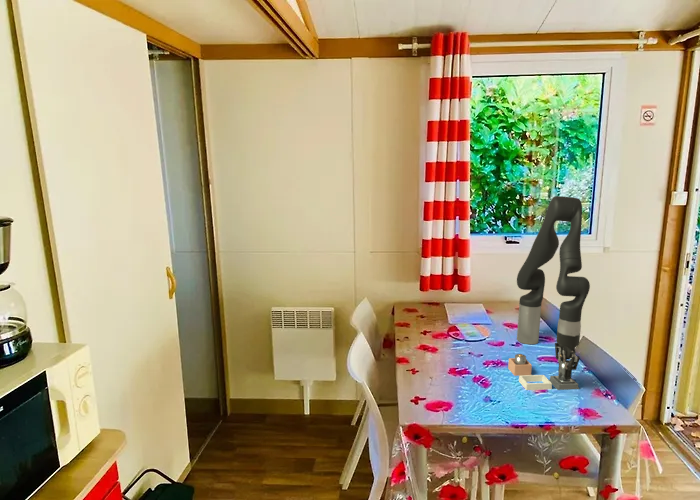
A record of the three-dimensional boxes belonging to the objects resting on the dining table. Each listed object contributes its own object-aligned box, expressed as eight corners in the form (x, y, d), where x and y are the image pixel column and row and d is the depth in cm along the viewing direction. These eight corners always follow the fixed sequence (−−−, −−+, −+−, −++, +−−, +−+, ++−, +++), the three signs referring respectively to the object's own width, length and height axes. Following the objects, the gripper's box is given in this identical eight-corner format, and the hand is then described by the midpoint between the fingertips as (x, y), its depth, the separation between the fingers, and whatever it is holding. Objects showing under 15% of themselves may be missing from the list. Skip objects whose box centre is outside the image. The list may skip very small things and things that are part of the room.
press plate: (554, 378, 180) (555, 376, 180) (566, 378, 181) (567, 375, 180) (560, 384, 176) (561, 381, 176) (573, 384, 176) (573, 381, 176)
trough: (518, 383, 182) (519, 375, 181) (542, 382, 182) (543, 374, 182) (526, 392, 175) (526, 384, 174) (551, 391, 176) (552, 383, 175)
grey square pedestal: (548, 382, 182) (548, 375, 181) (569, 382, 182) (569, 375, 182) (557, 391, 175) (557, 384, 174) (579, 391, 175) (579, 384, 175)
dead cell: (512, 369, 191) (513, 352, 189) (522, 369, 191) (523, 352, 190) (516, 374, 187) (517, 357, 186) (526, 373, 187) (527, 356, 186)
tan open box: (508, 370, 192) (508, 358, 191) (523, 369, 193) (524, 357, 192) (514, 377, 186) (515, 365, 185) (530, 377, 186) (531, 364, 185)
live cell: (556, 376, 180) (557, 358, 178) (566, 376, 180) (568, 358, 179) (561, 381, 176) (563, 363, 175) (572, 381, 176) (574, 362, 175)
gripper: (549, 324, 181) (545, 367, 184) (568, 338, 167) (564, 385, 171) (569, 323, 181) (565, 366, 185) (589, 338, 168) (584, 384, 171)
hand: (564, 375), depth 178 cm, fingers closed on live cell, 4 cm apart
